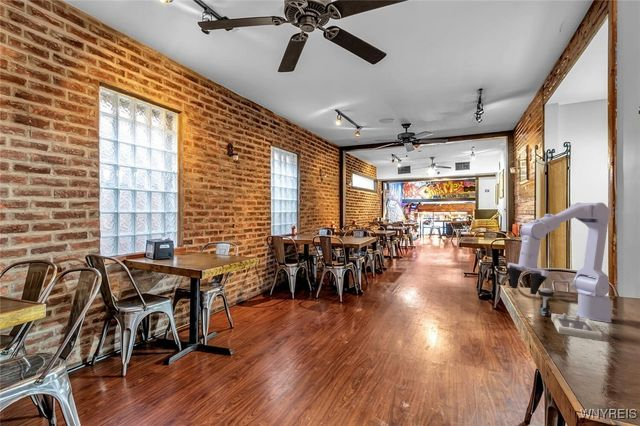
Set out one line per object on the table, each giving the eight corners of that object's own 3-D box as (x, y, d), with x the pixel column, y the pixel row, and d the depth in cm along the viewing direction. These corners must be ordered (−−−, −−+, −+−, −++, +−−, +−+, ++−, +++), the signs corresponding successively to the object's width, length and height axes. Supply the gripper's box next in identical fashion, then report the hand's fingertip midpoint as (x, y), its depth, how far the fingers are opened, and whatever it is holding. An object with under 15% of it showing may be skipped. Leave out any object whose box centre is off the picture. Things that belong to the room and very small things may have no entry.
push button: (551, 318, 122) (552, 292, 122) (534, 314, 126) (535, 289, 126) (554, 314, 127) (555, 289, 127) (538, 311, 131) (539, 286, 130)
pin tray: (588, 324, 116) (589, 315, 116) (601, 340, 102) (602, 330, 102) (551, 319, 121) (551, 310, 121) (558, 333, 107) (559, 323, 107)
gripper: (504, 250, 125) (498, 285, 125) (540, 257, 112) (534, 296, 112) (517, 252, 128) (511, 286, 128) (554, 259, 114) (548, 297, 114)
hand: (523, 291), depth 120 cm, fingers open, 7 cm apart
